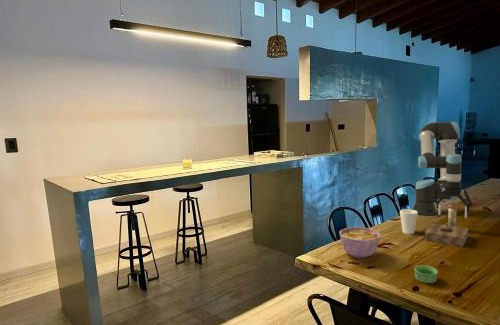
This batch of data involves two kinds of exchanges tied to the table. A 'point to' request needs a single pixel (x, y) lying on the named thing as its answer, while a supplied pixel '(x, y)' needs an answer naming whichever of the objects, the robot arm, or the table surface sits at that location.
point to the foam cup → (408, 220)
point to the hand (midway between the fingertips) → (452, 215)
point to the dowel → (452, 215)
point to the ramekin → (425, 274)
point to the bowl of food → (359, 241)
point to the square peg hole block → (446, 235)
